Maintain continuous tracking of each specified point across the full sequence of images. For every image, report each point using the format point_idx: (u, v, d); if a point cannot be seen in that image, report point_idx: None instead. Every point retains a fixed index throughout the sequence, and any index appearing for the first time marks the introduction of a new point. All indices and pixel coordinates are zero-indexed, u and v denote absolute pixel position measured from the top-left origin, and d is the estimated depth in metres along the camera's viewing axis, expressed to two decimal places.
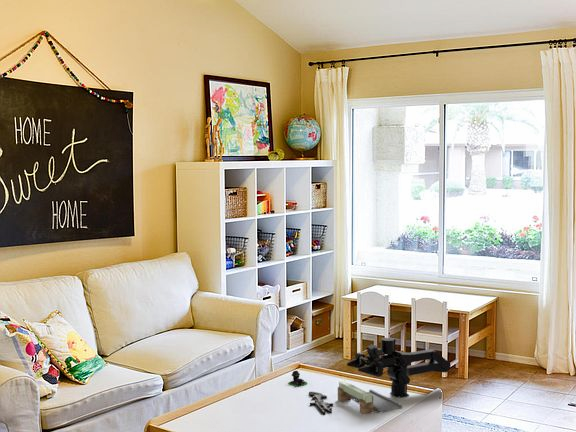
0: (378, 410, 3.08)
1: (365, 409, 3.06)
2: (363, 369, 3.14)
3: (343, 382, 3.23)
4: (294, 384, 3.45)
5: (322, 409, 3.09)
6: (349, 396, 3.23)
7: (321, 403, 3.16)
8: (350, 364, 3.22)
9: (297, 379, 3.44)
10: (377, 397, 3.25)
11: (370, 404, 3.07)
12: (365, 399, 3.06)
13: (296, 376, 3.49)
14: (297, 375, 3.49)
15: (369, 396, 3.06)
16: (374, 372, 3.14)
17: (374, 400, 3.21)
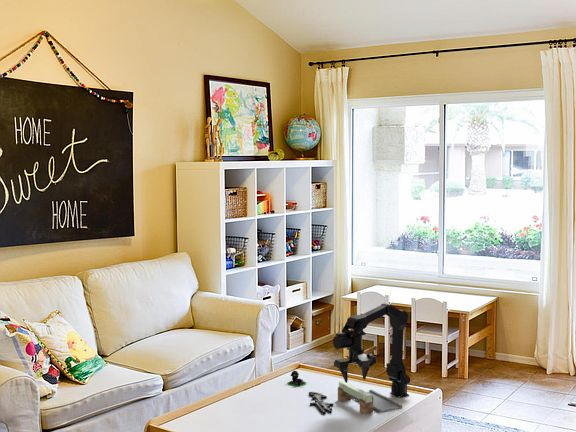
0: (378, 410, 3.08)
1: (365, 409, 3.06)
2: None
3: (343, 382, 3.23)
4: (293, 384, 3.45)
5: (322, 409, 3.09)
6: (349, 396, 3.23)
7: (321, 403, 3.16)
8: None
9: (296, 379, 3.44)
10: (377, 397, 3.25)
11: (370, 404, 3.07)
12: (365, 399, 3.06)
13: (295, 376, 3.49)
14: (296, 375, 3.49)
15: (369, 396, 3.06)
16: None
17: (374, 400, 3.21)
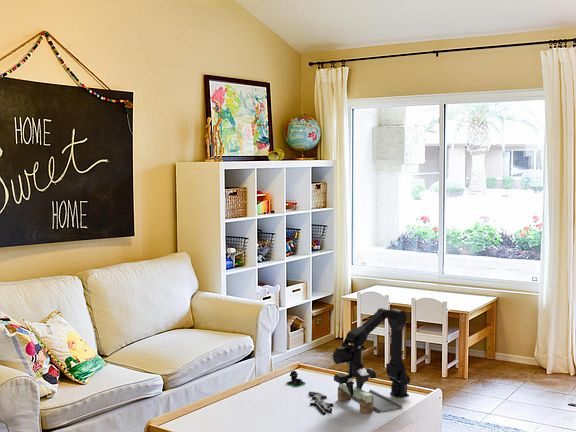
0: (378, 410, 3.08)
1: (365, 409, 3.06)
2: None
3: None
4: (292, 384, 3.45)
5: (322, 409, 3.09)
6: (349, 396, 3.23)
7: (321, 403, 3.16)
8: None
9: (295, 379, 3.44)
10: (377, 397, 3.25)
11: (370, 404, 3.07)
12: (365, 399, 3.06)
13: (294, 376, 3.49)
14: (295, 375, 3.49)
15: (369, 396, 3.06)
16: None
17: (374, 400, 3.21)
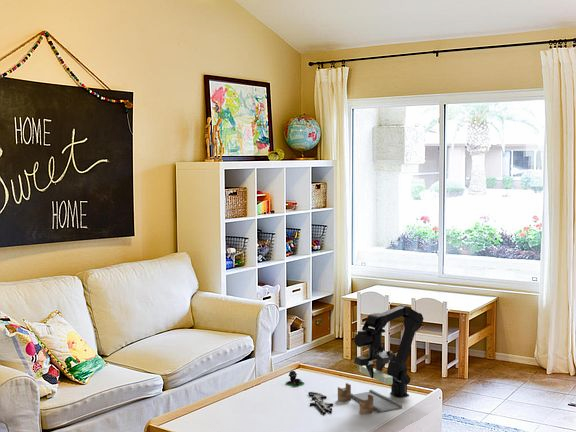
0: (378, 410, 3.08)
1: (365, 409, 3.06)
2: None
3: None
4: (291, 384, 3.45)
5: (322, 409, 3.09)
6: (349, 396, 3.23)
7: (321, 403, 3.16)
8: None
9: (295, 379, 3.44)
10: (377, 397, 3.25)
11: (370, 404, 3.07)
12: (386, 381, 3.10)
13: (293, 376, 3.49)
14: (294, 375, 3.49)
15: (390, 378, 3.10)
16: None
17: (374, 400, 3.21)
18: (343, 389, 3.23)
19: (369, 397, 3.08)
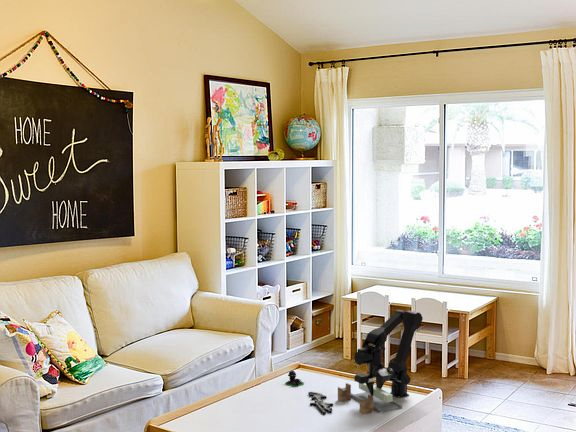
0: (378, 410, 3.08)
1: (365, 409, 3.06)
2: None
3: None
4: (291, 384, 3.45)
5: (322, 409, 3.09)
6: (349, 396, 3.23)
7: (321, 403, 3.16)
8: None
9: (294, 379, 3.44)
10: None
11: (370, 404, 3.07)
12: (386, 399, 3.10)
13: (293, 376, 3.49)
14: (294, 375, 3.49)
15: (390, 396, 3.11)
16: None
17: (374, 400, 3.21)
18: (343, 389, 3.23)
19: (369, 397, 3.08)
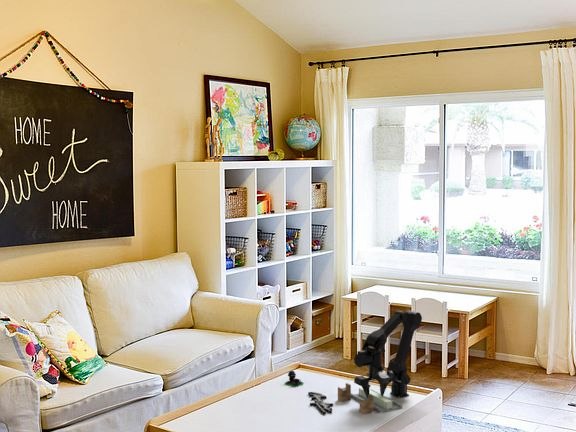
0: (378, 410, 3.08)
1: (365, 409, 3.06)
2: None
3: None
4: (291, 384, 3.45)
5: (322, 409, 3.09)
6: (349, 396, 3.23)
7: (321, 403, 3.16)
8: None
9: (294, 379, 3.44)
10: None
11: (370, 404, 3.07)
12: (385, 405, 3.11)
13: (292, 376, 3.49)
14: (293, 375, 3.49)
15: (389, 402, 3.11)
16: None
17: None
18: (343, 389, 3.23)
19: (369, 397, 3.08)
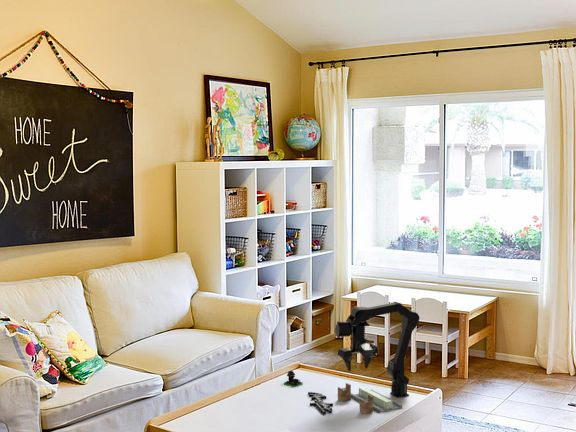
0: (378, 410, 3.08)
1: (365, 409, 3.06)
2: None
3: (363, 388, 3.29)
4: (290, 384, 3.45)
5: (322, 409, 3.09)
6: (349, 396, 3.23)
7: (321, 403, 3.16)
8: None
9: (293, 379, 3.44)
10: None
11: (370, 404, 3.07)
12: (385, 405, 3.11)
13: (291, 376, 3.48)
14: (292, 375, 3.49)
15: (389, 402, 3.11)
16: None
17: None
18: (343, 389, 3.23)
19: (369, 397, 3.08)
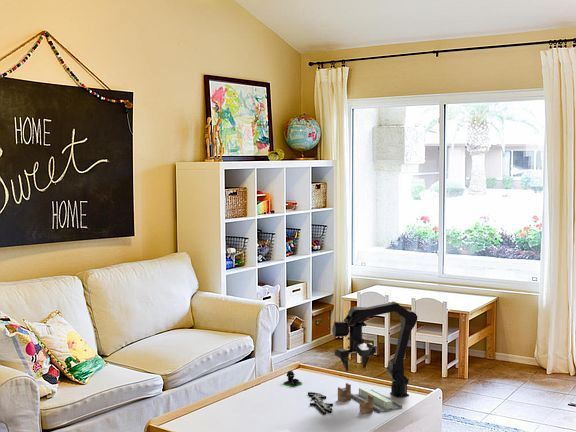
0: (378, 410, 3.08)
1: (365, 409, 3.06)
2: None
3: (363, 388, 3.29)
4: (289, 384, 3.45)
5: (322, 409, 3.08)
6: (349, 396, 3.23)
7: (321, 403, 3.16)
8: None
9: (293, 379, 3.44)
10: None
11: (370, 404, 3.07)
12: (385, 405, 3.11)
13: (291, 376, 3.48)
14: (292, 375, 3.49)
15: (389, 402, 3.11)
16: None
17: None
18: (343, 389, 3.23)
19: (369, 397, 3.08)
